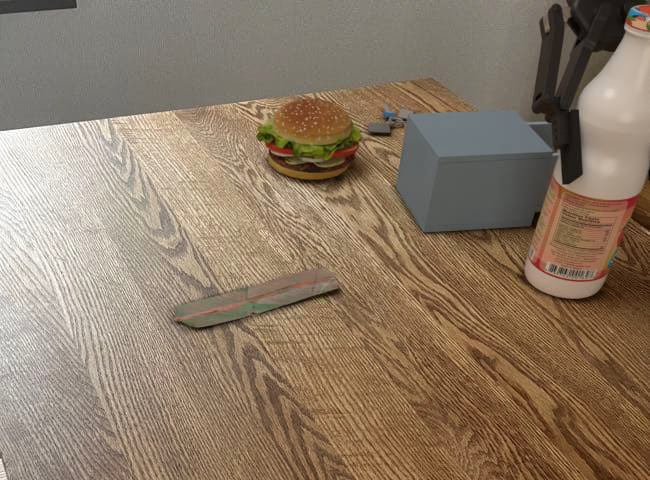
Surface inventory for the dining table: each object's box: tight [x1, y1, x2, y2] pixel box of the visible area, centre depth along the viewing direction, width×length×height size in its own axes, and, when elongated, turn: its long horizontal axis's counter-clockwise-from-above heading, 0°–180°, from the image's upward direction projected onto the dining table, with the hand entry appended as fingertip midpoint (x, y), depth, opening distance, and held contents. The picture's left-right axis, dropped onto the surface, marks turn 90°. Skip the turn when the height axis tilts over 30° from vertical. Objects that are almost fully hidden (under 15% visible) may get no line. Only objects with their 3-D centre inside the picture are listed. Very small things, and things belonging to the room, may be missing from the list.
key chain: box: [367, 103, 415, 134], centre depth 127 cm, size 14×8×1 cm, turn 124°
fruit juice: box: [523, 4, 650, 300], centre depth 88 cm, size 9×9×28 cm
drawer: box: [525, 120, 560, 213], centre depth 108 cm, size 19×11×8 cm, turn 100°
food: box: [256, 97, 363, 181], centre depth 114 cm, size 14×14×8 cm
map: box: [173, 267, 340, 328], centre depth 93 cm, size 5×20×1 cm, turn 118°
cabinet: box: [395, 109, 553, 233], centre depth 106 cm, size 15×13×10 cm
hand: (616, 177), depth 86 cm, fingers open, 9 cm apart
